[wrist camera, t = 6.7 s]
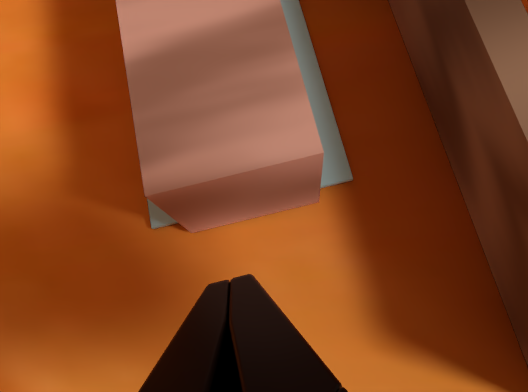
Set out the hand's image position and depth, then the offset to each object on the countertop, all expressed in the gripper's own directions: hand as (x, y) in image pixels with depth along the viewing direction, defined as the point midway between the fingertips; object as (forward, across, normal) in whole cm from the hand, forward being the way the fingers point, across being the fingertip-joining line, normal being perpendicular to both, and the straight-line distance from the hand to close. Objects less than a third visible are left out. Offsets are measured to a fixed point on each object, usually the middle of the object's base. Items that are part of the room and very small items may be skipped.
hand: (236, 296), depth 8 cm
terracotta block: (+6, 0, +1) cm, 6 cm away
